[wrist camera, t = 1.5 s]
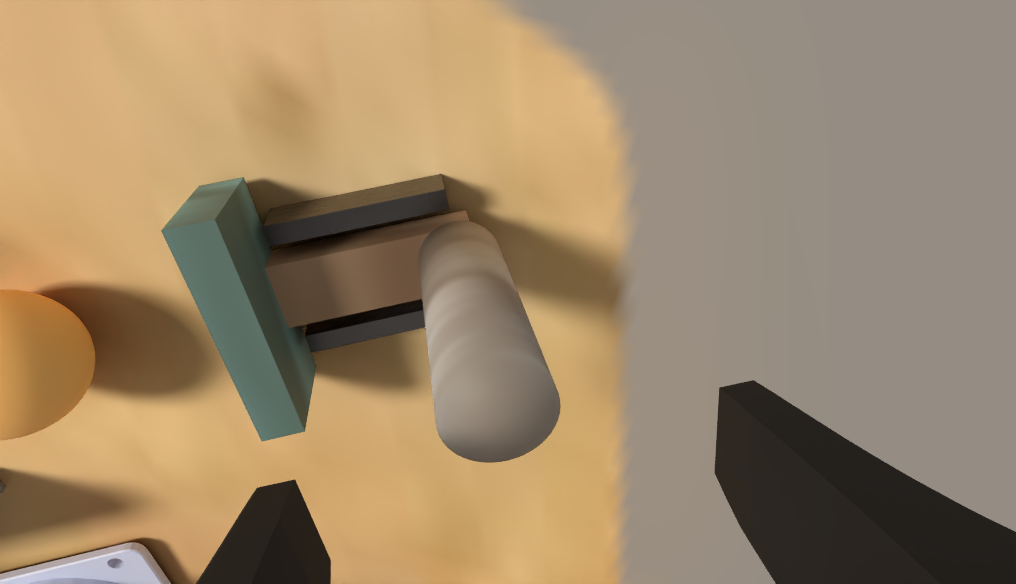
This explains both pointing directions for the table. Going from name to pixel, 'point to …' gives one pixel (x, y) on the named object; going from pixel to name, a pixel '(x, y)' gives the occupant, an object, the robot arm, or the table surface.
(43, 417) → the ball
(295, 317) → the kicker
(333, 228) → the track
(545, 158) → the table surface
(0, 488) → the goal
